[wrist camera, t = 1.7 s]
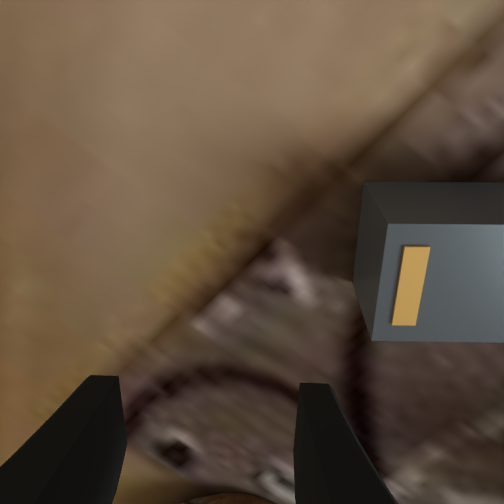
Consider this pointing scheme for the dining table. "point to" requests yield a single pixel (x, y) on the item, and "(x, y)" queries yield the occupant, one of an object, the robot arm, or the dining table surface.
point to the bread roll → (228, 499)
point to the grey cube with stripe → (431, 261)
